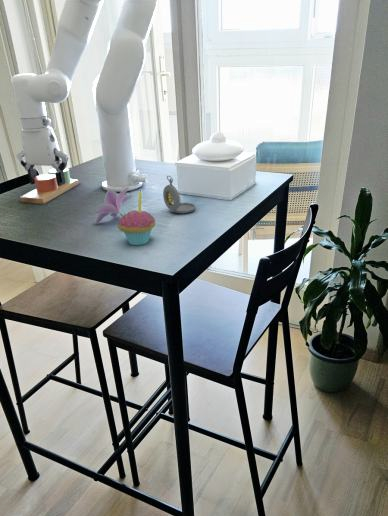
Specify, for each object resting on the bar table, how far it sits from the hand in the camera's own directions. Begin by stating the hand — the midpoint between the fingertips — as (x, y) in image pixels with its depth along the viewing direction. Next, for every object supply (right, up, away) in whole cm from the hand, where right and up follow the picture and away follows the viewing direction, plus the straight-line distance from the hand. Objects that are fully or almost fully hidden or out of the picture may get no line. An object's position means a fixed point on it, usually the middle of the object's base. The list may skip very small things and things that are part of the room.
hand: (48, 183), depth 147 cm
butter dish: (+52, -2, -1) cm, 52 cm away
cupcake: (+32, -25, -33) cm, 52 cm away
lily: (+25, -18, -22) cm, 37 cm away
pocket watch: (+41, -13, -17) cm, 46 cm away
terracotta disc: (0, -1, +1) cm, 1 cm away
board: (0, -2, +2) cm, 3 cm away
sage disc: (+2, +3, +7) cm, 7 cm away
